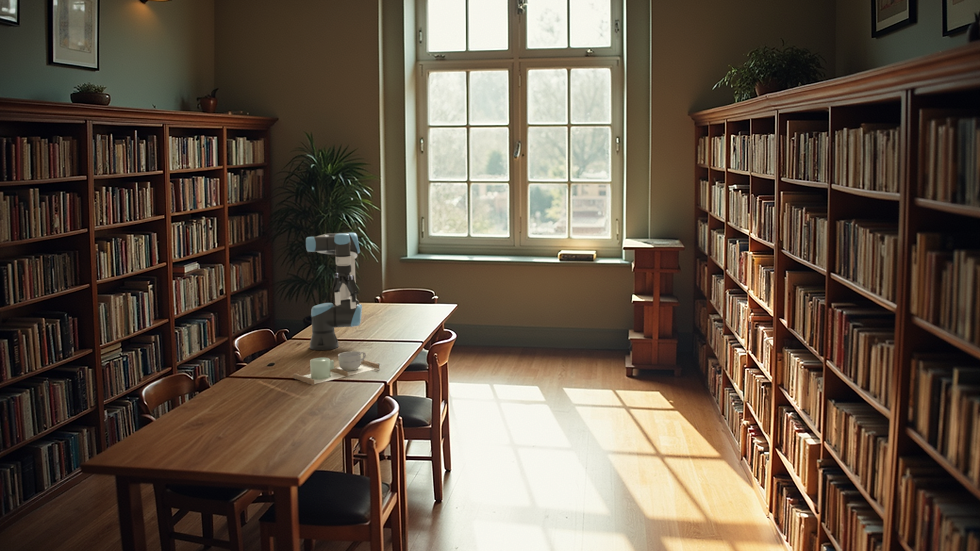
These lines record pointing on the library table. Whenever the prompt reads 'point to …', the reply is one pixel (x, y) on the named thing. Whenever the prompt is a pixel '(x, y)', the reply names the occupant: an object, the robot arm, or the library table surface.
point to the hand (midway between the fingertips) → (345, 306)
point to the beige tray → (340, 372)
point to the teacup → (350, 360)
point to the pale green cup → (321, 368)
